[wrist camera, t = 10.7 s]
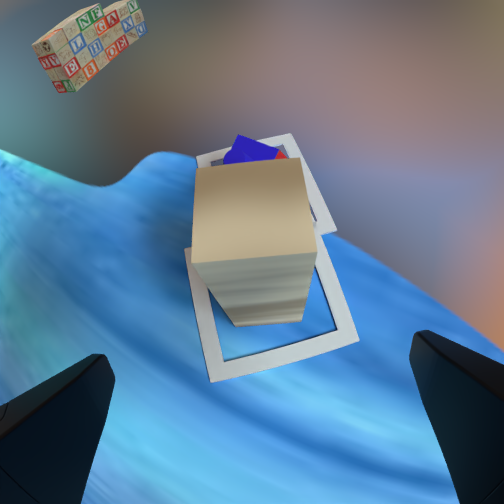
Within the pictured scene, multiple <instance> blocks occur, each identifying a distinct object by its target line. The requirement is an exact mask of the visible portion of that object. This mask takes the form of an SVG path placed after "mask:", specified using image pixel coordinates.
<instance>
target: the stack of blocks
mask: <svg viewBox="0 0 504 504" xmlns="http://www.w3.org/2000/svg"><path fill="white" fill-rule="evenodd" d="M147 32H148V30H147V27H146V25H145V21H144V18H143V15H142V12H141V9H140V8H139V5H138V1H137V0H123V1H119V2H115V3H113V4H112V5H110V6H108V7H107V8H105V9H103V10H102V7H101V5H100V3H99V4H96V5H93V6H90V7H87V8H84V9H81V10H79V11H77V12H76V13H75V14H73V15H71V16H70V17H68V18H67V19H65V20H64V21H62V22H61V23H59V24H58V25H57V26H56V27H54V28H53V29H52V30H50V31H49V32H48V33H46V34H45V35H44V36H42V37H41V38H40V39H38V40H37V41H36V42H35V43H34V44H32V47H33V49H34V50H35V52H36V54H37V56H38V59H39V61H40V63H41V64H42V66H43V68H44V69H45V71H46V72H47V74H48V76H49V77H50V79H51V81H52V83H53V84H54V86H55V88H56V89H57V91H58V92H59V93H66V92H77V91H78V90H79V89H80V88H81V87H82V86H83V85H84V84H85V83H86V82H87V81H89V80H90V79H91V78H92V77H93V76H94V75H95V74H96V73H97V72H98V71H99V70H101V69H102V68H103V67H104V66H105V65H107V64H108V63H109V62H110V61H111V60H112V59H113V58H114V57H116V56H117V55H118V54H119V53H120V52H122V51H123V50H124V49H125V48H127V47H128V46H129V45H131V44H132V43H133V42H135V41H136V40H137V39H139V38H140V37H141V36H143V35H144V34H146V33H147Z"/></svg>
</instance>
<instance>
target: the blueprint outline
mask: <svg viewBox="0 0 504 504" xmlns="http://www.w3.org/2000/svg"><path fill="white" fill-rule="evenodd" d="M257 141H258V142H261V143H263V144H266V145H269V146H271V147H275V146H280V145H283V146H284V148H285V150H286V152H287V155H288V157H289V158H299V157H300V160H301V164H302V169H303V174H304V179H305V184H306V189H307V195H308V200H309V204H310V206H311V208H312V211H313V213H314V215H315V218H316V220H317V221H315V220H314V218H313V215H312V214H311V216H312V222H313V228H314V233H315V239H316V245H317V257H316V261H315V266H316V269H317V272H318V275H319V277H320V280H321V283H322V286H323V289H324V291H325V294H326V297H327V300H328V303H329V306H330V309H331V312H332V315H333V318H334V321H335V324H336V327H337V331H334V332H330V333H327V334H324V335H321V336H318V337H315V338H312V339H308V340H305V341H302V342H298V343H295V344H292V345H288V346H285V347H281V348H277V349H274V350H270V351H266V352H263V353H259V354H255V355H251V356H247V357H243V358H239V359H235V360H231V361H227V362H224V359H223V355H222V351H221V347H220V342H219V338H218V334H217V329H216V325H215V320H214V316H213V311H212V307H211V302H210V297H209V293H208V288H207V286H206V284H205V283H204V281H203V280H202V278H201V277H200V275H199V274H198V273H197V271H196V270H195V268H194V267H193V265H192V264H191V255H192V247H189V248H185V249H184V251H185V257H186V263H187V269H188V275H189V281H190V286H191V292H192V297H193V302H194V307H195V313H196V318H197V323H198V328H199V332H200V337H201V342H202V347H203V351H204V356H205V360H206V365H207V369H208V373H209V378H210V382H211V383H213V382H218V381H222V380H227V379H231V378H236V377H240V376H244V375H248V374H252V373H256V372H260V371H264V370H268V369H271V368H275V367H279V366H282V365H286V364H289V363H293V362H296V361H300V360H303V359H306V358H310V357H313V356H316V355H319V354H322V353H325V352H329V351H332V350H335V349H338V348H341V347H343V346H346V345H349V344H352V343H355V342H358V341H360V340H359V337H358V334H357V331H356V328H355V326H354V323H353V320H352V317H351V314H350V311H349V308H348V306H347V303H346V300H345V297H344V294H343V292H342V289H341V286H340V284H339V281H338V278H337V276H336V273H335V270H334V268H333V265H332V262H331V260H330V257H329V255H328V252H327V250H326V247H325V245H324V242H323V240H322V237H321V235H324V234H327V233H331V232H335V231H337V229H336V226H335V224H334V222H333V219H332V217H331V215H330V213H329V211H328V208H327V206H326V204H325V202H324V200H323V197H322V195H321V193H320V191H319V189H318V187H317V185H316V183H315V180H314V179H313V176H312V174H311V172H310V170H309V168H308V166H307V164H306V162H305V160H304V158H303V156H302V154H301V152H300V150H299V148H298V146H297V144H296V142H295V140H294V138H293V137H292V135H291V133H289V134H284V135H280V136H275V137H271V138H266V139H262V140H257ZM231 148H232V147H229V148H225V149H222V150H218V151H214V152H210V153H207V154H203V155H200V156H196V158H197V163H198V168H203V167H211V162H215V161H218V160H222V159H224V156H225V154H226V153H227V152H228V151H229V150H231Z"/></svg>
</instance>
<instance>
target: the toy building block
mask: <svg viewBox="0 0 504 504" xmlns="http://www.w3.org/2000/svg"><path fill="white" fill-rule="evenodd" d="M285 158H287V157H286V156H285V155H284V154H283V153H282V152H281V151H280V150H279V149H276V148H274V147H271V146H269V145H266V144H263V143H261V142H258V141H255V140H252V139H249V138H247V137H244V136H241V135H238V136H237V138H236V140H235V142H234V144H233V146H232V148H231V150H229V151H228V152H227V153H226V154H225V156H224V159H223V165H226V164H235V163H243V162H253V161H263V160H274V159H285Z"/></svg>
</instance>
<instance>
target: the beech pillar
mask: <svg viewBox="0 0 504 504" xmlns="http://www.w3.org/2000/svg"><path fill="white" fill-rule="evenodd" d="M316 257H317V245H316V239H315V233H314V228H313V222H312V216H311V211H310V205H309V200H308V195H307V189H306V184H305V179H304V174H303V169H302V164H301V160H300V157H299V158H285V159H274V160H263V161H253V162H243V163H235V164H226V165H218V166H211V167H203V168H196V179H195V194H194V211H193V231H192V255H191V264H192V265H193V267H194V268H195V270H196V271H197V273H198V274H199V275H200V277H201V278H202V280H203V281H204V283H205V284H206V286H207V287H208V288H209V290H210V291H211V293H212V294H213V296H214V297H215V298H216V300H217V301H218V303H219V304H220V305H221V307H222V308H223V310H224V311H225V312H226V314H227V315H228V317H229V318H230V319H231V321H232V322H233V324H234V325H235V326H236V327H243V326H257V325H269V324H281V323H292V322H301V320H302V317H303V313H304V308H305V304H306V300H307V296H308V292H309V288H310V283H311V279H312V275H313V270H314V266H315V261H316Z"/></svg>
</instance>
